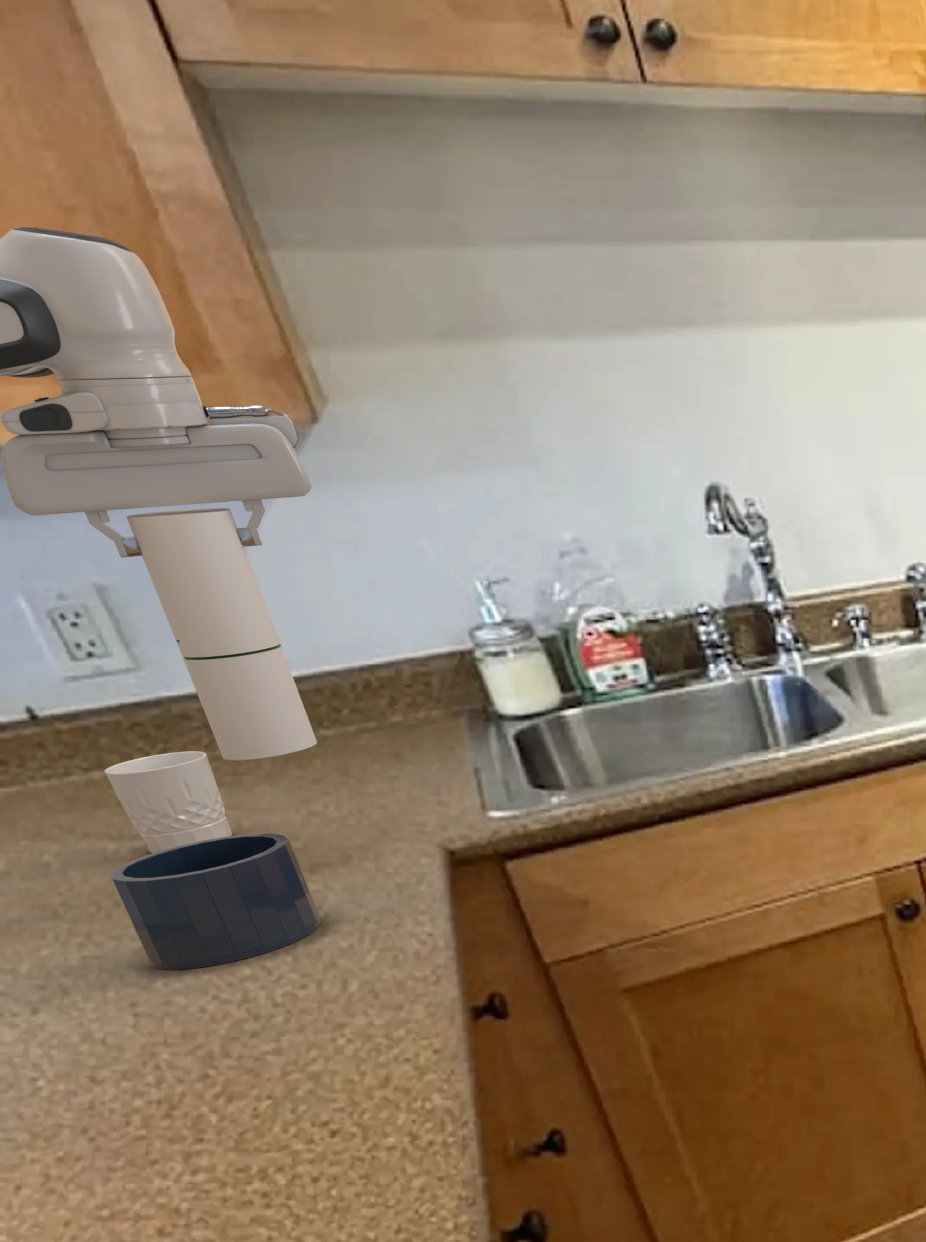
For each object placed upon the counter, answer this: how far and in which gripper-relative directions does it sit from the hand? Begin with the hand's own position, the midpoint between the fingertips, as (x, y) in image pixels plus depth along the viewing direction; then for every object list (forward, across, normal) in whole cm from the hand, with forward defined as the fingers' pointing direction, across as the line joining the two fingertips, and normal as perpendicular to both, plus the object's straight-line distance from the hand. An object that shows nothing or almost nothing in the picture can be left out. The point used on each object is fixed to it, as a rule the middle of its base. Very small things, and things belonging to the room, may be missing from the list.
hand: (193, 550), depth 132 cm
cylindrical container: (+21, 0, 0) cm, 21 cm away
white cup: (+35, +10, -21) cm, 42 cm away
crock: (+35, +6, +20) cm, 41 cm away
